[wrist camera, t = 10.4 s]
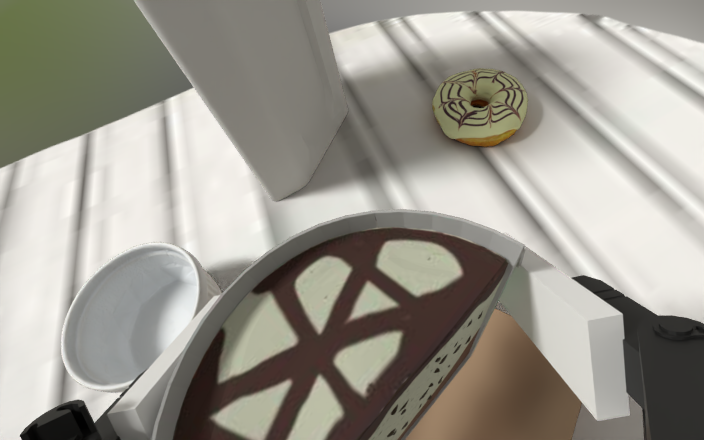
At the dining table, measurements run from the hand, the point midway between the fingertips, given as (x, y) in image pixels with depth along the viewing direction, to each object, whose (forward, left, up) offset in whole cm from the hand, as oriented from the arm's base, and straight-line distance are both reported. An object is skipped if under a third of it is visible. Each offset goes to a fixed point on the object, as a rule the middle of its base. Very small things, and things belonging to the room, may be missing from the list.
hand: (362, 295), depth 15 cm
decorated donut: (-5, +30, -20) cm, 36 cm away
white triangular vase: (-26, +20, -19) cm, 38 cm away
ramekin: (-22, -8, -19) cm, 30 cm away
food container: (+1, -3, -5) cm, 6 cm away
